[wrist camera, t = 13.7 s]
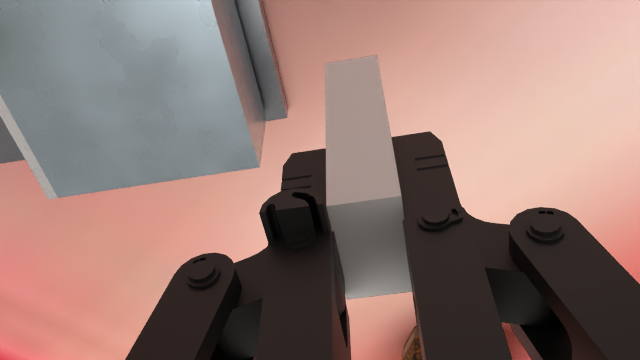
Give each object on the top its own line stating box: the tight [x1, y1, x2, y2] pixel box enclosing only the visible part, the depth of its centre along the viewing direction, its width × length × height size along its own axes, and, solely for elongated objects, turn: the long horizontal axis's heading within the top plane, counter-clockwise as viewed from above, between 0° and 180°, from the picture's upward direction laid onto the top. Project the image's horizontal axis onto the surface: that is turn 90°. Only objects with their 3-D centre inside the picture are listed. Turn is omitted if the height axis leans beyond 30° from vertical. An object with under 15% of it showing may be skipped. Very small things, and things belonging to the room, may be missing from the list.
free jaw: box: [0, 0, 266, 199], centre depth 26 cm, size 14×10×4 cm
